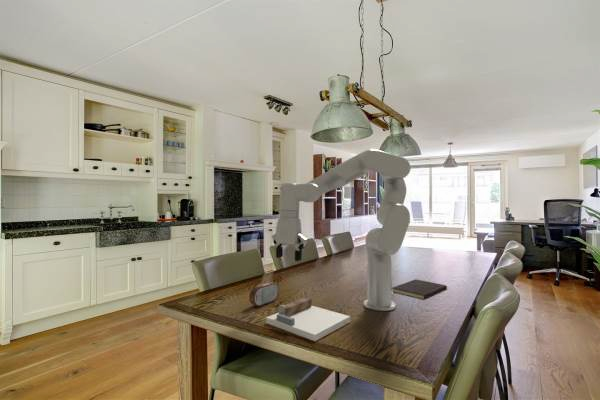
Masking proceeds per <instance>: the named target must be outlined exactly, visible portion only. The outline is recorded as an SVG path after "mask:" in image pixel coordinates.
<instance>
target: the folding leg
mask: <svg viewBox="0 0 600 400" xmlns="http://www.w3.org/2000/svg"><path fill="white" fill-rule="evenodd" d="M311 306H312V298H308V297H303V298H300V299H298V300H295V301H292V302H290V303H288V304H280V305H278V313H279V314H282V315H285V316H290V315H293V314H295V313H298V312H300V311H302V310H305V309H307V308H310V307H311Z"/></svg>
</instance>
